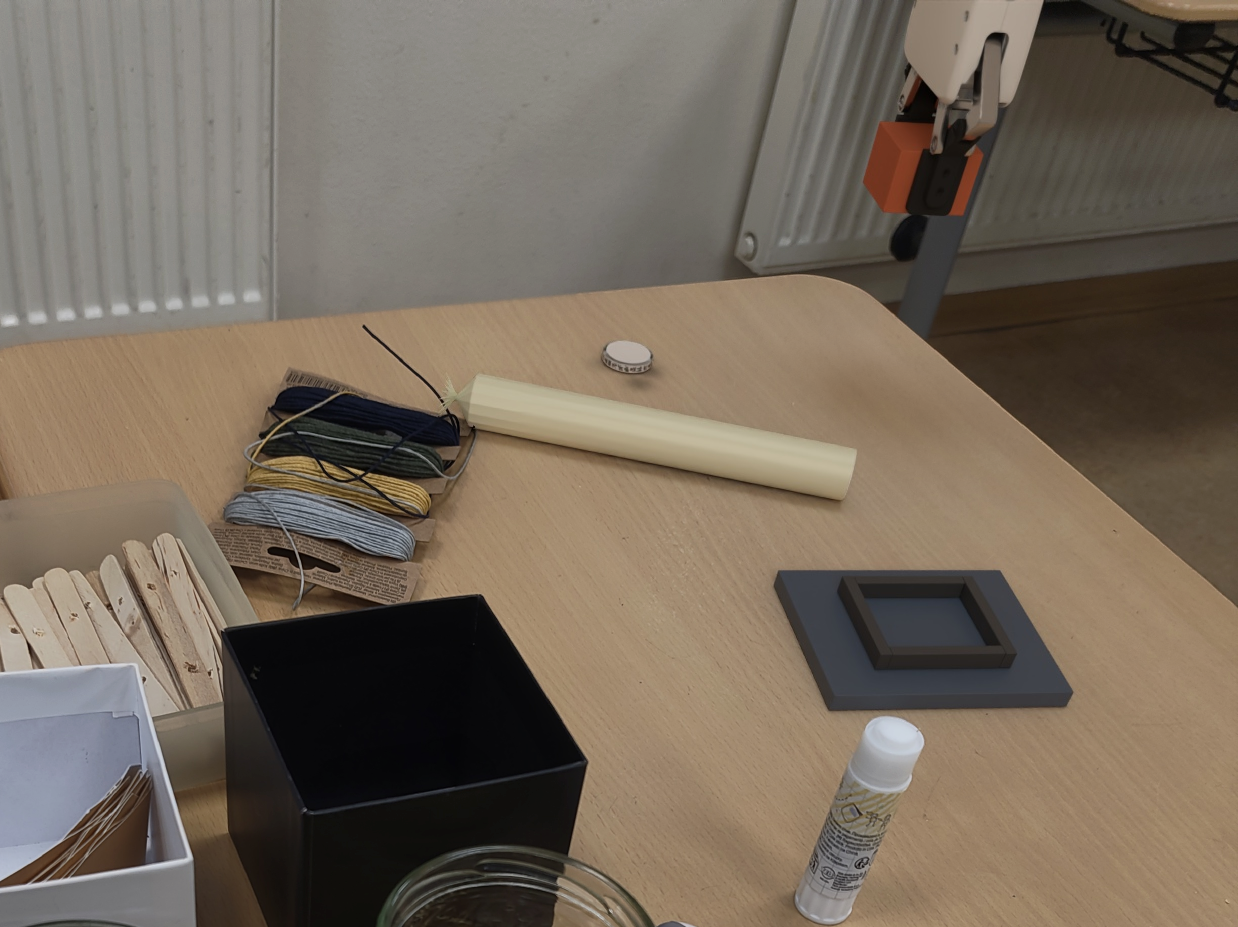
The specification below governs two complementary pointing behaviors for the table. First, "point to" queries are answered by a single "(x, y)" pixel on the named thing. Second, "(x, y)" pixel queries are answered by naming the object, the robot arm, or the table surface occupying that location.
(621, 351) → the white flat disc
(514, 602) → the table surface
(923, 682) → the board
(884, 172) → the orange block
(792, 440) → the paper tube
